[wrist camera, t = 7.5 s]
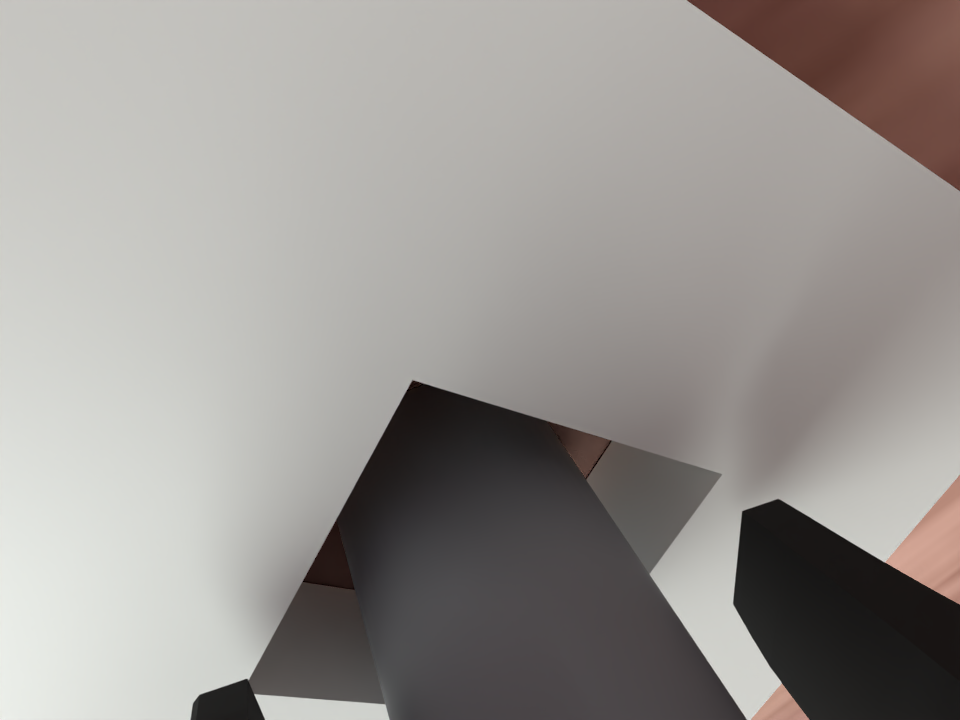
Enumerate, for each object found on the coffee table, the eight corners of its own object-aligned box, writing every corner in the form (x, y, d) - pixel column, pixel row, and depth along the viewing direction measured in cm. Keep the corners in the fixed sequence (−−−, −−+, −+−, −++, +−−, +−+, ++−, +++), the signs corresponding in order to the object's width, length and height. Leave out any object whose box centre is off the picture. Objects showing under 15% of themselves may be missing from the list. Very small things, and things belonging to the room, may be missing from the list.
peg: (291, 541, 14) (404, 1128, 8) (394, 348, 13) (637, 862, 6) (485, 575, 16) (703, 1064, 10) (592, 411, 15) (927, 850, 8)
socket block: (-210, 762, 13) (-277, 929, 11) (115, -344, 8) (102, -408, 6) (567, 784, 21) (610, 883, 19) (989, 239, 16) (1111, 296, 14)
